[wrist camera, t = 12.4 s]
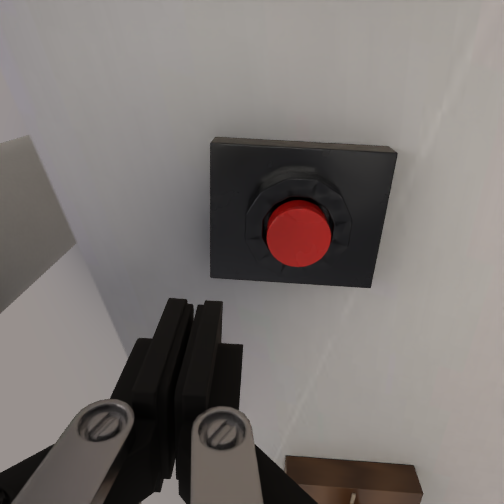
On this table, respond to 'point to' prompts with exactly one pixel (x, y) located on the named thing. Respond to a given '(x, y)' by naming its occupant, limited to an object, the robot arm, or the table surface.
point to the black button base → (297, 188)
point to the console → (354, 481)
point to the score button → (298, 233)
